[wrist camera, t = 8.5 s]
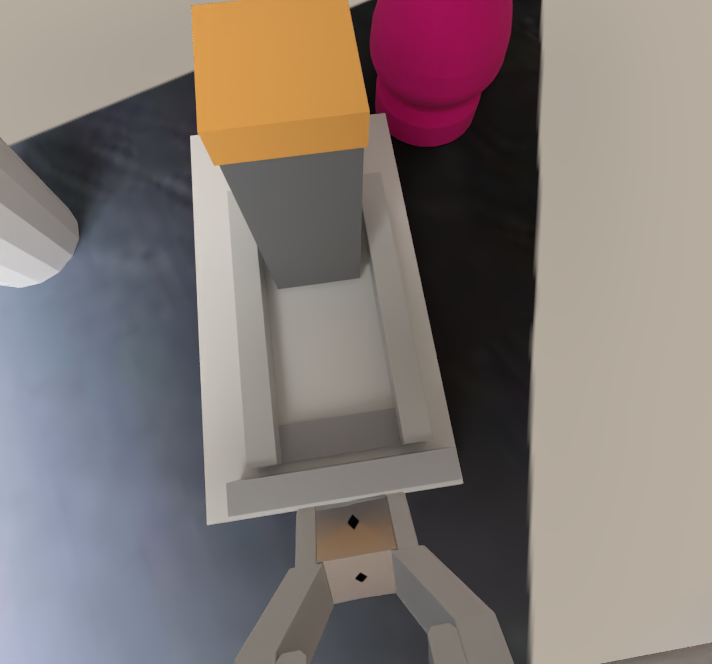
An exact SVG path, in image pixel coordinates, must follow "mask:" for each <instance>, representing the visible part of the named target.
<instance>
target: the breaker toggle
mask: <svg viewBox="0 0 712 664" xmlns="http://www.w3.org/2000/svg"><path fill="white" fill-rule="evenodd" d="M191 9H192V29H193V49H194V71H195V91H196V112H197V132H198V134H199V136H200V138H201V140H202V142H203V144H204V146H205V148H206V150H207V152H208V154H209V156H210V158H211V160H212V163H213V165H214V166H218V165H219V166H220V168H221V170H222V172H223V175H224V177H225V179H226V181H227V183H228V185H229V187H230V189H231V191H232V193H233V195H234V198H235V200H236V202H237V204H238V206H239V208H240V210H241V212H242V214H243V216H244V219H245V221H246V223H247V225H248V227H249V229H250V231H251V233H252V235H253V237H254V240H255V242H256V244H257V246H258V248H259V250H260V252H261V254H262V256H263V258H264V261H265V263H266V265H267V267H268V269H269V271H270V273H271V275H272V277H273V279H274V282H275V284H276V286H277V288H278V289H284V288H291V287H299V286H306V285H313V284H320V283H328V282H335V281H342V280H350V279H357V278H360V253H361V222H362V191H363V160H364V148H365V147H368V140H369V119H370V110H369V105H368V100H367V95H366V90H365V85H364V80H363V75H362V70H361V65H360V60H359V55H358V50H357V45H356V40H355V34H354V29H353V24H352V19H351V14H350V9H349V4H348V0H240V1H230V2H220V3H211V4H201V5H192V6H191Z"/></svg>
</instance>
